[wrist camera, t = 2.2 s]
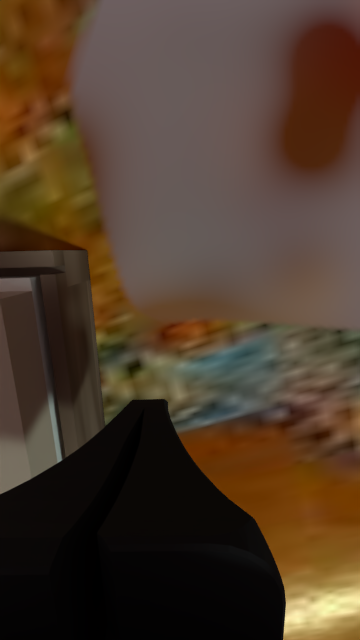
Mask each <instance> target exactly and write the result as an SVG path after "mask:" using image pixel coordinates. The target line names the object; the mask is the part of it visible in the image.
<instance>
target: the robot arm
mask: <svg viewBox="0 0 360 640" xmlns="http://www.w3.org/2000/svg"><path fill="white" fill-rule="evenodd" d="M285 607H286V600H285V590H284V586H283V582H282V579H281V576H280V573H279V570H278V568H277V565H276V563H275V560H274V558H273V556H272V553H271V551H270V549H269V547H268V545H267V543H266V540H265V538H264V536H263V534H262V533H261V531H260V529H259V527H258V525H257V523H256V521H255V519H254V518H253V517H252V516H250V515H249V514H248V513H246V512H245V511H244V510H242V509H241V508H240V507H238V506H237V505H236V504H234V503H233V502H232V501H231V500H229V499H228V498H227V497H226V496H225V495H224V494H223V493H222V492H221V491H219V490H218V489H217V488H216V486H215V485H214V484H213V483H212V482H211V481H210V480H209V479H208V478H207V477H206V476H205V475H204V473H203V472H202V471H201V470H200V469H199V467H198V466H197V465H196V464H195V462H194V461H193V460H192V458H191V457H190V455H189V454H188V452H187V451H186V449H185V448H184V446H183V444H182V442H181V441H180V439H179V437H178V435H177V433H176V431H175V428H174V426H173V424H172V421H171V419H170V416H169V412H168V402H167V401H166V400H165V399H153V400H132V401H131V402H130V403H129V404H128V405H127V406H126V407H125V408H124V409H123V410H122V411H121V412H120V413H119V414H118V415H117V416H116V417H115V418H114V419H113V420H112V421H111V422H110V423H109V424H107V425H106V426H105V427H104V428H103V429H102V430H101V431H100V432H98V433H97V434H96V435H95V436H94V437H93V438H91V439H90V440H89V441H88V442H87V443H85V444H84V445H83V446H81V447H80V448H79V449H77V450H76V451H75V452H73V453H72V454H70V455H69V456H67V457H66V458H65V459H63V460H62V461H60V462H58V463H57V464H55V465H53V466H52V467H50V468H48V469H47V470H45V471H43V472H42V473H40V474H38V475H37V476H35V477H33V478H31V479H30V480H28V481H26V482H24V483H22V484H20V485H18V486H16V487H14V488H12V489H10V490H8V491H6V492H4V493H2V494H0V640H283V633H284V620H285Z"/></svg>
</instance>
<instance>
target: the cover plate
mask: <svg viewBox="0 0 360 640" xmlns="http://www.w3.org/2000/svg"><path fill="white" fill-rule="evenodd" d="M65 458H66V456H65V449H64V442H63V435H62V428H61V421H60V414H59V407H58V400H57V393H56V386H55V378H54V371H53V364H52V357H51V350H50V343H49V336H48V329H47V322H46V315H45V308H44V301H43V294H42V287H41V280H40V276H13V277H0V494H2V493H4V492H6V491H8V490H10V489H12V488H14V487H16V486H18V485H20V484H22V483H24V482H26V481H28V480H30V479H31V478H33V477H35V476H37V475H38V474H40V473H42V472H43V471H45V470H47V469H48V468H50V467H52V466H53V465H55V464H57V463H58V462H60V461H62V460H63V459H65Z"/></svg>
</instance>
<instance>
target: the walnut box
mask: <svg viewBox="0 0 360 640" xmlns="http://www.w3.org/2000/svg"><path fill="white" fill-rule="evenodd" d="M13 276H40V280H41V287H42V294H43V301H44V308H45V315H46V322H47V329H48V336H49V343H50V350H51V357H52V364H53V371H54V378H55V386H56V393H57V400H58V407H59V414H60V421H61V428H62V435H63V442H64V449H65V456H66V457H67V456H69V455H70V454H72V453H73V452H75V451H76V450H77V449H79V448H80V447H81V446H83V445H84V444H85V443H87V442H88V441H89V440H90V439H91V438H93V437H94V436H95V435H96V434H97V433H98V432H100V431H101V430H102V429H103V428H104V427H105V421H104V411H103V402H102V392H101V382H100V372H99V362H98V352H97V343H96V333H95V323H94V313H93V303H92V294H91V284H90V274H89V264H88V254H87V250H44V251H11V252H0V277H13Z"/></svg>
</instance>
